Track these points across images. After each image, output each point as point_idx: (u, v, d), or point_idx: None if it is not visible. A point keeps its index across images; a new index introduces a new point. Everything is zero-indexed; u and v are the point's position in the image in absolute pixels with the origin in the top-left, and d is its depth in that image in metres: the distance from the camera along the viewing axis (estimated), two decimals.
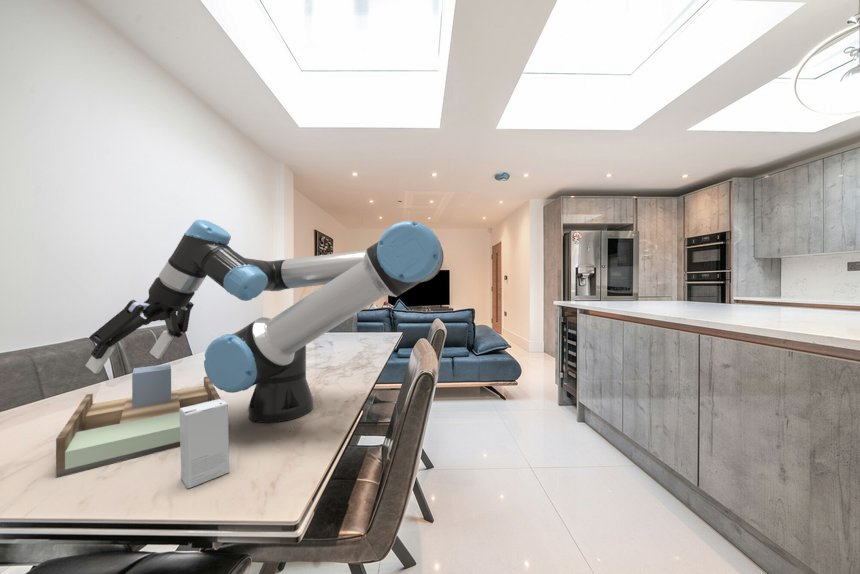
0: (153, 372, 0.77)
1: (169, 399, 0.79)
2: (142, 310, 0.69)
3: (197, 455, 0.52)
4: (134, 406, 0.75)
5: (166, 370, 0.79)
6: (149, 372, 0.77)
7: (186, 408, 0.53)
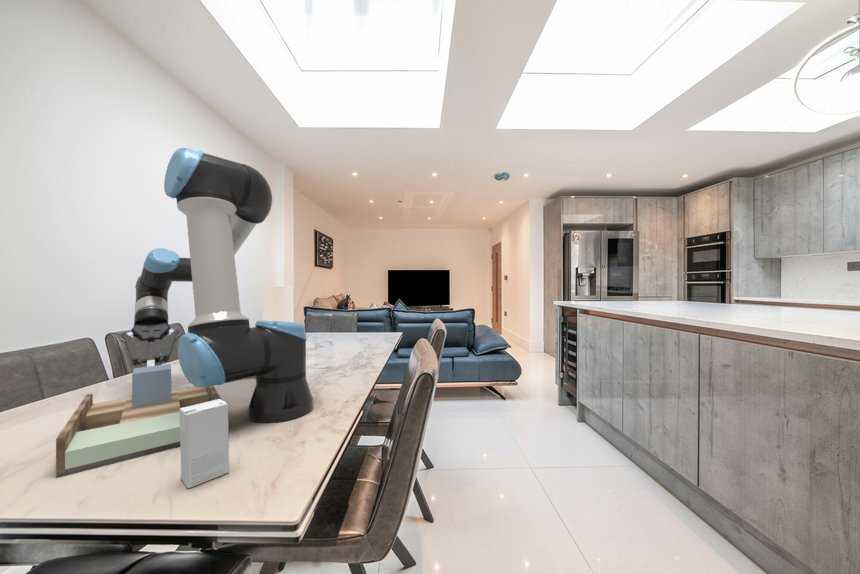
0: (153, 372, 0.77)
1: (169, 399, 0.79)
2: None
3: (197, 455, 0.52)
4: (134, 406, 0.75)
5: (166, 370, 0.78)
6: (149, 372, 0.76)
7: (186, 408, 0.53)
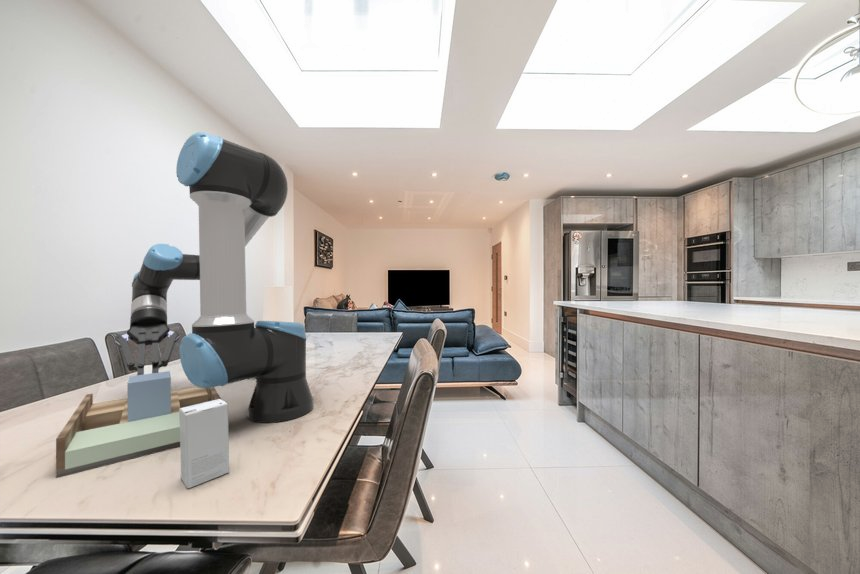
0: (151, 381, 0.69)
1: (168, 411, 0.71)
2: None
3: (197, 455, 0.52)
4: (130, 419, 0.67)
5: (165, 379, 0.71)
6: (146, 381, 0.69)
7: (186, 408, 0.53)
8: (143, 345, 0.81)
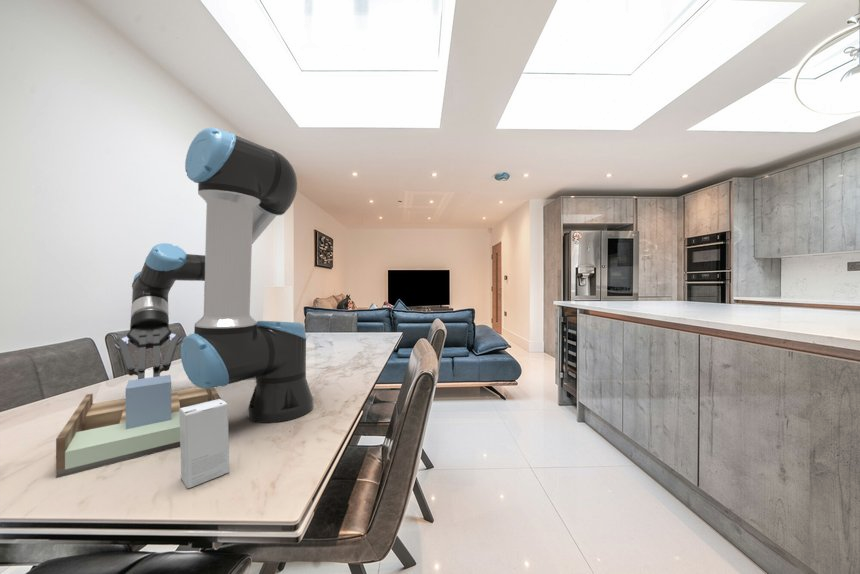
0: (150, 386, 0.66)
1: (169, 417, 0.68)
2: (135, 345, 0.79)
3: (197, 455, 0.52)
4: (128, 426, 0.64)
5: (165, 383, 0.67)
6: (145, 386, 0.66)
7: (186, 408, 0.53)
8: (144, 348, 0.78)
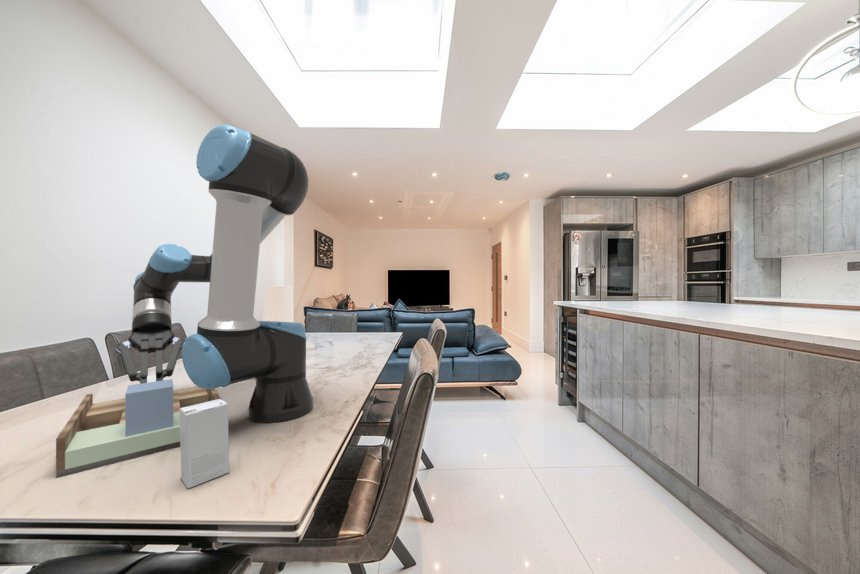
0: (151, 391, 0.63)
1: (171, 423, 0.65)
2: (136, 349, 0.76)
3: (197, 455, 0.52)
4: (128, 434, 0.61)
5: (167, 388, 0.64)
6: (146, 391, 0.62)
7: (186, 408, 0.53)
8: (146, 353, 0.75)
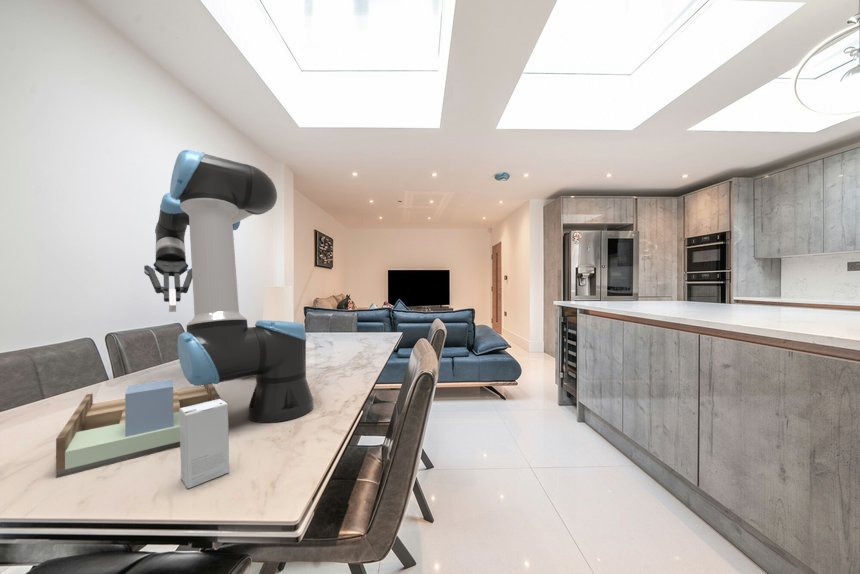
0: (151, 391, 0.63)
1: (171, 424, 0.65)
2: None
3: (197, 455, 0.52)
4: (128, 434, 0.61)
5: (167, 388, 0.64)
6: (146, 391, 0.62)
7: (186, 408, 0.53)
8: (167, 274, 0.97)
